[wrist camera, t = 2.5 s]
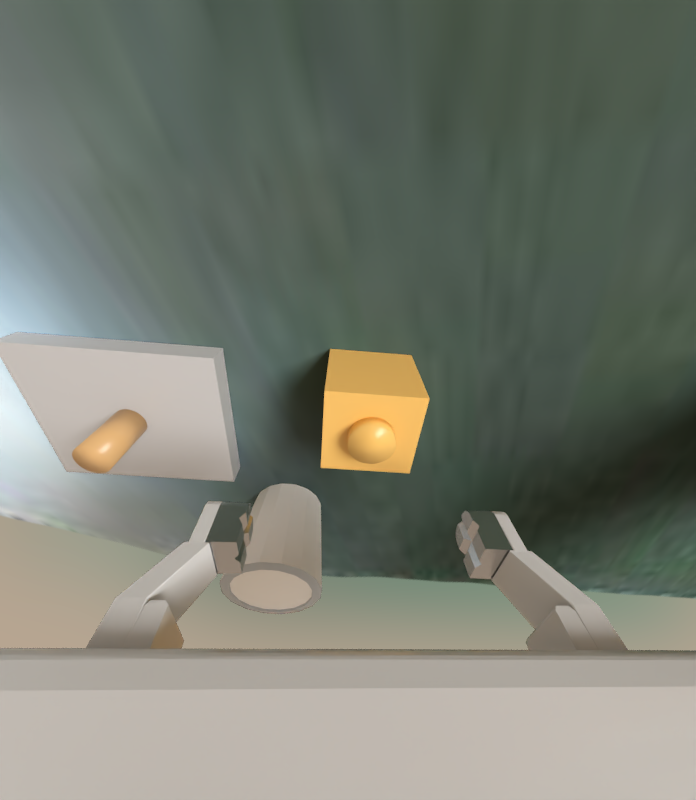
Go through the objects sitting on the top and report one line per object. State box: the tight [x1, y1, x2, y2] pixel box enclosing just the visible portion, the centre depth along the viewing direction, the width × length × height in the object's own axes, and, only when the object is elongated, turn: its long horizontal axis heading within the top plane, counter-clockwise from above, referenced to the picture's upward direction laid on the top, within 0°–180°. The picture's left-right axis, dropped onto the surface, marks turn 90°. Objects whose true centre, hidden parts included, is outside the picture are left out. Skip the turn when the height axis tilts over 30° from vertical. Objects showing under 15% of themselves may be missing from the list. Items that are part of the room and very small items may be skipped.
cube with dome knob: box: [321, 349, 430, 473], centre depth 17 cm, size 5×5×6 cm
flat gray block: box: [0, 332, 240, 482], centre depth 19 cm, size 12×10×5 cm
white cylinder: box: [220, 483, 322, 614], centre depth 23 cm, size 7×7×7 cm
